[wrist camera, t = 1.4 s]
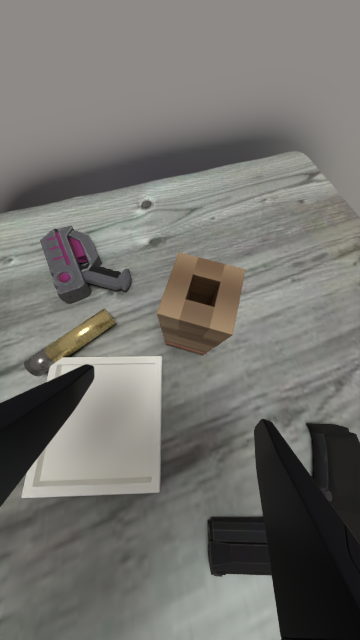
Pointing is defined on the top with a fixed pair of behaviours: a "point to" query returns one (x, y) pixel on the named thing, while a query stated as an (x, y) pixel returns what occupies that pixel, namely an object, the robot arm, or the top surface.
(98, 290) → the top surface
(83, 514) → the top surface
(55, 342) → the bullet cartridge
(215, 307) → the brown tall hollow block
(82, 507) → the top surface
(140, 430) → the tray
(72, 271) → the toy gun
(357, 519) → the handgun
